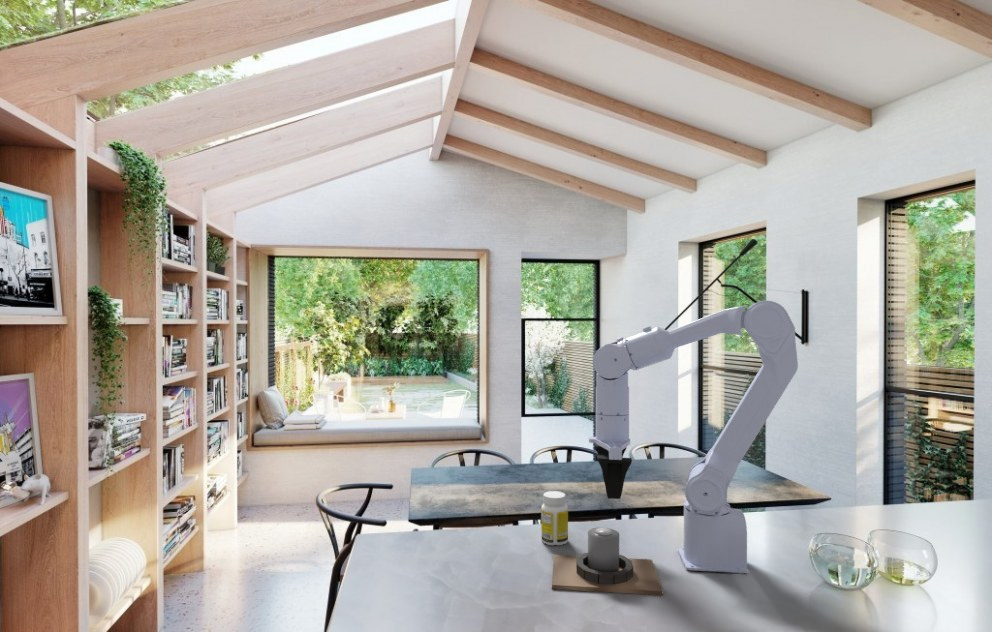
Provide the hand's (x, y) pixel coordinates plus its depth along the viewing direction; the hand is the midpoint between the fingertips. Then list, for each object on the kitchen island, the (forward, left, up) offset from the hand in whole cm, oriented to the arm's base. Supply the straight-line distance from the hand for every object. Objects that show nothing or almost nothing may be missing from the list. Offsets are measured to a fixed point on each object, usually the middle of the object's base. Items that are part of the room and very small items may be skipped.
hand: (612, 491), depth 103 cm
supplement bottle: (+10, -2, -10) cm, 14 cm away
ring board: (+2, +11, -10) cm, 15 cm away
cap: (+2, +11, -9) cm, 15 cm away
